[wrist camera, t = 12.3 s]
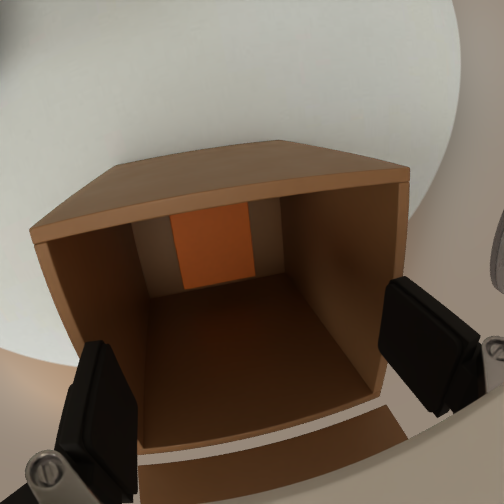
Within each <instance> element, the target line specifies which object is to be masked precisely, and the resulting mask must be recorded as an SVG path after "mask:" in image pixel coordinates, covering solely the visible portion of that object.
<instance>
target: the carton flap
mask: <svg viewBox="0 0 504 504" xmlns="http://www.w3.org/2000/svg"><path fill="white" fill-rule="evenodd" d="M406 440H408V438H407V436H406V434H405V433H404V431H403V430H402V428H401V427H400V425H399V424H398V422H397V420H396V419H395V417H394V416H393V414H392V413H391V411H390V410H389V408H388V406H387V405H384V406H381V407H379V408H377V409H374V410H372V411H369V412H367V413H364V414H362V415H359V416H357V417H354V418H351V419H349V420H346V421H343V422H341V423H338V424H335V425H332V426H329V427H326V428H323V429H320V430H317V431H314V432H311V433H308V434H304V435H301V436H298V437H294V438H291V439H287V440H284V441H280V442H276V443H272V444H268V445H264V446H261V447H256V448H252V449H248V450H243V451H238V452H233V453H229V454H223V455H218V456H212V457H206V458H200V459H194V460H187V461H179V462H171V463H162V464H154V465H153V464H152V465H140V466H138V478H139V491H140V502H141V504H201V503H208V502H215V501H221V500H227V499H232V498H237V497H242V496H247V495H252V494H256V493H261V492H265V491H269V490H273V489H277V488H281V487H284V486H288V485H291V484H295V483H298V482H302V481H305V480H308V479H311V478H315V477H318V476H321V475H324V474H327V473H329V472H332V471H335V470H338V469H341V468H343V467H346V466H349V465H351V464H354V463H356V462H359V461H361V460H364V459H366V458H368V457H371V456H373V455H375V454H378V453H380V452H382V451H384V450H387V449H389V448H391V447H393V446H395V445H397V444H399V443H402V442H404V441H406Z"/></svg>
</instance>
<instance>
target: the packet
mask: <svg viewBox="0 0 504 504" xmlns="http://www.w3.org/2000/svg"><path fill="white" fill-rule="evenodd" d="M169 218H170V223H171V228H172V234H173V239H174V244H175V249H176V253H177V258H178V263H179V268H180V272H181V277H182V281H183V286H184V289H185V290H186V289H191V288H196V287H202V286H207V285H212V284H217V283H222V282H228V281H233V280H238V279H243V278H248V277H253V276H255V275H256V274H255V265H254V256H253V246H252V237H251V228H250V219H249V209H248V202H244V203H238V204H232V205H226V206H220V207H214V208H208V209H202V210H197V211H191V212H185V213H180V214H175V215H169Z"/></svg>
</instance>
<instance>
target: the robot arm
mask: <svg viewBox="0 0 504 504" xmlns="http://www.w3.org/2000/svg"><path fill="white" fill-rule="evenodd" d="M479 339H480V335H479V334H478V333H477V332H476V331H475V330H473V329H472V328H471V327H470V326H469V325H467V324H466V323H465V322H464V321H462V320H461V319H460V318H459V317H458V316H456V315H455V314H454V313H453V312H451V311H450V310H449V309H448V308H446V307H445V306H444V305H442V304H441V303H440V302H439V301H437V300H436V299H435V298H434V297H432V296H431V295H430V294H429V293H427V292H426V291H425V290H423V289H422V288H421V287H419V286H418V285H417V284H416V283H414V282H413V281H411V280H410V279H409V278H408V277H406V276H402V277H399V278H395V279H392V280H390V281H389V283H388V285H387V286H386V288H385V295H384V303H383V311H382V318H381V325H380V332H379V338H378V350H379V352H380V353H381V355H382V356H383V357H384V358H385V359H386V361H387V362H388V363H389V364H390V365H391V367H392V368H393V369H394V370H395V371H396V372H397V374H398V375H399V376H400V377H401V379H402V380H403V381H404V382H405V384H406V385H407V386H408V387H409V388H410V390H411V391H412V392H413V393H414V394H415V396H416V397H417V398H418V399H419V401H420V402H421V403H422V404H423V406H424V407H425V408H426V409H427V410H428V411H429V412H433V413H434V414H435V416H436V417H437V418H438V417H440V416H442V415H444V414H445V413H447V412H448V411H449V410H450V409H451V410H452V412H453V415H452V416H450V417H448V418H446V419H445V420H443V421H441V422H440V423H438V424H436V425H434V426H432V427H431V428H429V429H427V430H425V431H423V432H421V433H419V434H418V435H416V436H414V437H412V438H410V439H408V440H406V441H404V442H402V443H399V444H397V445H395V446H393V447H391V448H389V449H387V450H384V451H382V452H380V453H378V454H375V455H373V456H371V457H368V458H366V459H364V460H361V461H359V462H356V463H354V464H351V465H349V466H346V467H343V468H341V469H338V470H335V471H332V472H329V473H327V474H324V475H321V476H318V477H315V478H311V479H308V480H305V481H302V482H298V483H295V484H291V485H288V486H284V487H281V488H277V489H273V490H269V491H265V492H261V493H256V494H252V495H247V496H242V497H237V498H232V499H227V500H221V501H215V502H208V503H201V504H504V337H500V336H491V337H488V338H486V339H485V340H484V341H483V343H482V345H481V344H480V343H479ZM137 433H138V405H137V401H136V399H135V397H134V395H133V393H132V391H131V389H130V387H129V385H128V383H127V381H126V378H125V376H124V374H123V372H122V370H121V368H120V366H119V363H118V361H117V359H116V357H115V354H114V352H113V350H112V348H111V346H110V344H105V343H104V341H103V340H97V341H90V342H86V343H85V344H84V347H83V350H82V354H81V357H80V360H79V364H78V367H77V371H76V374H75V378H74V381H73V384H71V385H70V387H69V389H68V392H67V396H66V400H65V404H64V408H63V412H62V416H61V420H60V424H59V429H58V433H57V438H56V443H55V448H54V450H44V451H41V452H38V453H36V454H35V455H34V456H33V457H32V458H31V459H30V460H29V462H28V463H27V466H26V469H25V477H26V480H27V483H26V484H24V485H23V486H22V487H20V488H19V489H18V490H17V491H15V492H14V493H13V494H11V495H10V496H9V497H7V498H6V499H5V500H3V501H2V502H0V504H122V503H133V494H137V492H138V478H137Z"/></svg>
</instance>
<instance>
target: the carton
mask: <svg viewBox="0 0 504 504" xmlns="http://www.w3.org/2000/svg"><path fill="white" fill-rule="evenodd" d="M408 181H410V168H409V167H406V166H402V165H398V164H394V163H391V162H387V161H382V160H378V159H374V158H370V157H366V156H361V155H357V154H352V153H347V152H343V151H338V150H333V149H328V148H323V147H317V146H312V145H306V144H300V143H295V142H288V141H282V140H273V141H263V142H254V143H245V144H237V145H229V146H222V147H215V148H208V149H201V150H195V151H189V152H183V153H177V154H171V155H165V156H160V157H155V158H150V159H145V160H140V161H135V162H130V163H125V164H121V165H116V166H114V167H112V168H111V169H109V170H108V171H106V172H105V173H103V174H102V175H100V176H99V177H97V178H96V179H94V180H93V181H92V182H90V183H89V184H87V185H86V186H85V187H83V188H82V189H80V190H79V191H78V192H76V193H75V194H73V195H72V196H71V197H69V198H68V199H67V200H65V201H64V202H63V203H61V204H60V205H59V206H57V207H56V208H55V209H54V210H52V211H51V212H50V213H48V214H47V215H46V216H45V217H43V218H42V219H41V220H40V221H38V222H37V223H36V224H35V225H34V226H32V227H31V228H30V229H29V231H30V235H31V238H32V242H33V244H35V245H34V248H35V251H36V254H37V257H38V260H39V263H40V266H41V269H42V272H43V275H44V277H45V280H46V283H47V286H48V288H49V291H50V293H51V296H52V298H53V301H54V303H55V306H56V308H57V311H58V313H59V315H60V318H61V320H62V322H63V325H64V327H65V329H66V331H67V334H68V336H69V338H70V340H71V342H72V344H73V346H74V348H75V350H76V352H77V354H78V356H79V358H80V357H81V354H82V350H83V347H84V344H85V343H86V342H90V341H97V340H103V341H104V343H105V344H110V346H111V348H112V350H113V352H114V354H115V357H116V359H117V361H118V363H119V366H120V368H121V370H122V372H123V374H124V376H125V378H126V381H127V383H128V385H129V387H130V389H131V391H132V393H133V395H134V397H135V399H136V401H137V405H138V433H137V454H138V455H144V454H154V453H164V452H172V451H180V450H187V449H193V448H200V447H206V446H211V445H217V444H223V443H228V442H232V441H237V440H242V439H246V438H250V437H255V436H259V435H264V434H268V433H271V432H275V431H279V430H283V429H286V428H290V427H293V426H296V425H300V424H304V423H307V422H310V421H313V420H317V419H320V418H323V417H325V416H328V415H332V414H335V413H338V412H340V411H343V410H346V409H349V408H351V407H354V406H357V405H359V404H362V403H365V402H367V401H370V400H372V399H375V398H377V397H379V396H380V393H381V389H382V385H383V381H384V376H385V372H386V368H387V363H388V362H387V361H386V359H385V358H384V357H383V356H382V355H381V353H380V352H379V350H378V338H379V332H380V325H381V318H382V311H383V303H384V295H385V288H386V286H387V285H388V283H389V281H390V280H392V279H395V278H399V277H402V276H403V269H404V260H405V250H406V239H407V226H408V210H409V187H410V183H409V182H408ZM244 202H248V209H249V219H250V228H251V237H252V246H253V256H254V265H255V274H256V275H255V276H253V277H248V278H243V279H238V280H233V281H228V282H222V283H217V284H212V285H207V286H202V287H196V288H191V289H186V290H185V289H184V286H183V281H182V277H181V272H180V268H179V263H178V258H177V253H176V249H175V244H174V239H173V234H172V228H171V223H170V218H169V215H175V214H180V213H185V212H191V211H197V210H202V209H208V208H214V207H220V206H226V205H232V204H238V203H244Z"/></svg>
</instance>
